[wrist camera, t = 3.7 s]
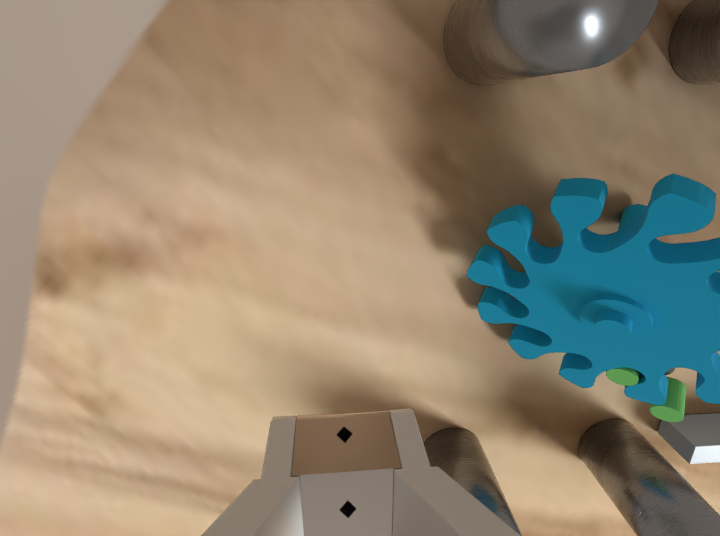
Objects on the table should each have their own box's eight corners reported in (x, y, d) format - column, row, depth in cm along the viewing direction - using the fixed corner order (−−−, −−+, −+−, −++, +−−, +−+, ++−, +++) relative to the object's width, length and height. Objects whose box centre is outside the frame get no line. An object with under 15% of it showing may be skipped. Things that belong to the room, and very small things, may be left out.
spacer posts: (766, -13, 14) (1052, -93, 9) (629, 464, 22) (735, 588, 16) (446, -17, 13) (530, -107, 8) (419, 477, 21) (451, 612, 15)
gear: (415, 229, 15) (858, 164, 7) (474, 139, 18) (827, 33, 11) (523, 408, 20) (850, 472, 12) (554, 313, 23) (830, 321, 16)
